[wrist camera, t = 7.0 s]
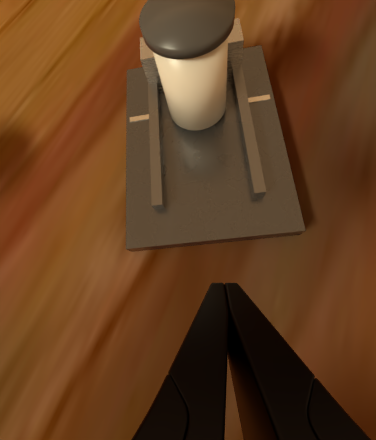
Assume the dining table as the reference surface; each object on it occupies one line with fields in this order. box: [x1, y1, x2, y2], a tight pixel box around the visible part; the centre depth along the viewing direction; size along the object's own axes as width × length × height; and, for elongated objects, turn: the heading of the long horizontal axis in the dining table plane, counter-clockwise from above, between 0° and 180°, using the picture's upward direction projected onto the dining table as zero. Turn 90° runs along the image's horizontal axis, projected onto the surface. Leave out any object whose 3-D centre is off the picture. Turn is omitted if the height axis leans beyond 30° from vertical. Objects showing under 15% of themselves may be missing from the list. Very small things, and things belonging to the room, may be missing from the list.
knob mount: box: [126, 18, 306, 252], centre depth 22 cm, size 22×16×6 cm
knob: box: [139, 0, 235, 130], centre depth 20 cm, size 7×7×9 cm
